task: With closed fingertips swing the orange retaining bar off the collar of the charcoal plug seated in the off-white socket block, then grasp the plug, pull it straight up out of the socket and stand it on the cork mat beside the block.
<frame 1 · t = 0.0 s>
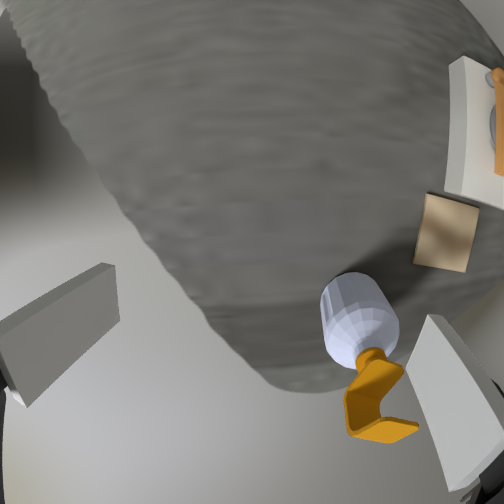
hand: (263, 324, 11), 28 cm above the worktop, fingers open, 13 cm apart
plug: (490, 135, 28), resting in socket block
socket block: (484, 138, 29), on the worktop
soap bottle: (350, 299, 39), on the worktop
clip: (502, 119, 21), point 7 cm above the worktop, hinge at 0.0°
cork mat: (447, 234, 34), on the worktop
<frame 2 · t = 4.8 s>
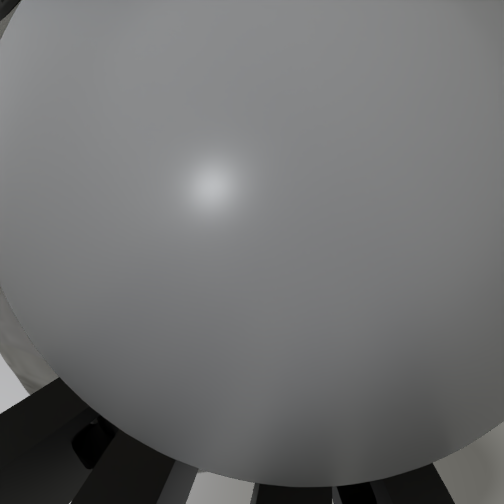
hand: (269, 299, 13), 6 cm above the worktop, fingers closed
plug: (303, 169, 17), resting in socket block
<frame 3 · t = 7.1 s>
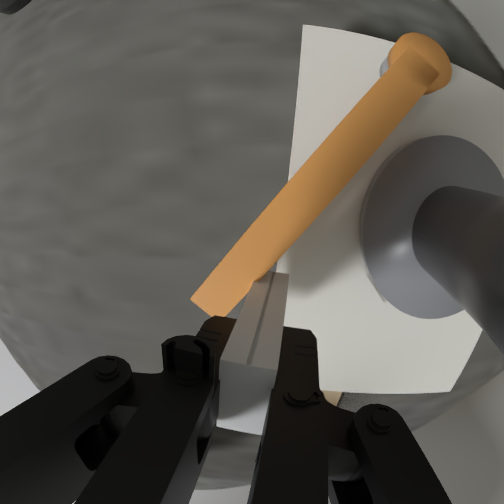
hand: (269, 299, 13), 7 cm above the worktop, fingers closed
plug: (406, 210, 17), resting in socket block
socket block: (390, 223, 17), on the worktop
clip: (328, 168, 10), point 7 cm above the worktop, hinge at -33.4°, touching gripper
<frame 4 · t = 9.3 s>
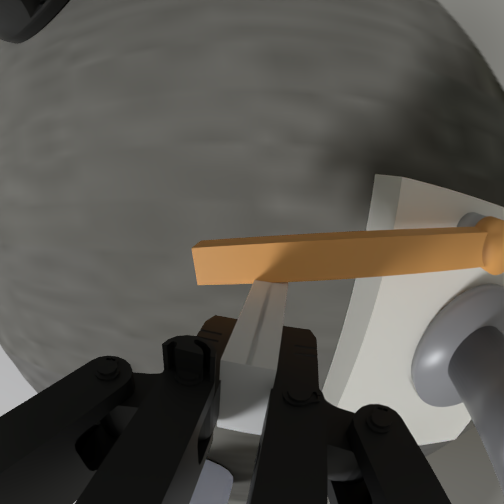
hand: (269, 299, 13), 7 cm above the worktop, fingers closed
plug: (440, 311, 18), resting in socket block
socket block: (426, 321, 19), on the worktop
soap bottle: (201, 469, 29), on the worktop
clip: (381, 252, 11), point 7 cm above the worktop, hinge at -78.2°, touching gripper
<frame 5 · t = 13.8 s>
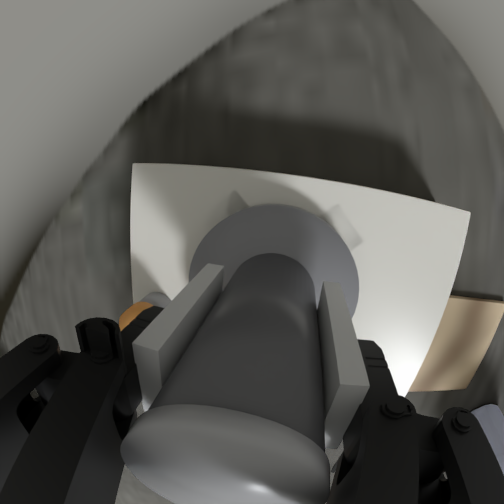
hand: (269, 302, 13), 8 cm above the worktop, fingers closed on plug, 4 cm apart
plug: (280, 258, 20), resting in socket block, touching gripper
socket block: (291, 273, 21), on the worktop
soap bottle: (470, 425, 23), on the worktop
clip: (160, 401, 17), point 7 cm above the worktop, hinge at -84.0°
cork mat: (449, 346, 20), on the worktop
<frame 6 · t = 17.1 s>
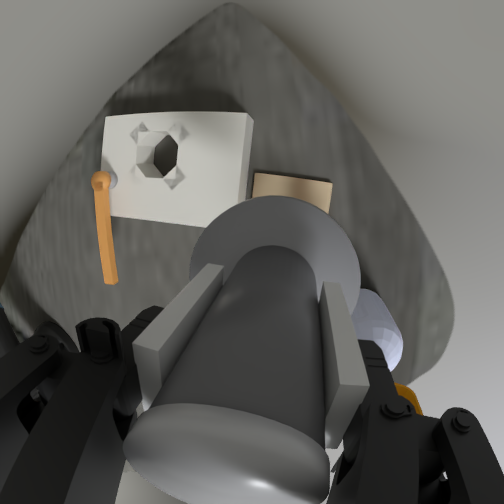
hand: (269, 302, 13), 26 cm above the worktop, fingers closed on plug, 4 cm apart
plug: (281, 249, 20), point 18 cm above the worktop, touching gripper
socket block: (177, 166, 38), on the worktop
soap bottle: (355, 314, 40), on the worktop
clip: (104, 228, 34), point 7 cm above the worktop, hinge at -84.0°
cork mat: (289, 215, 37), on the worktop
when the fingers open (10 cm above the worktop, at t = 20.2 s): plug stays where it is, resting on cork mat.
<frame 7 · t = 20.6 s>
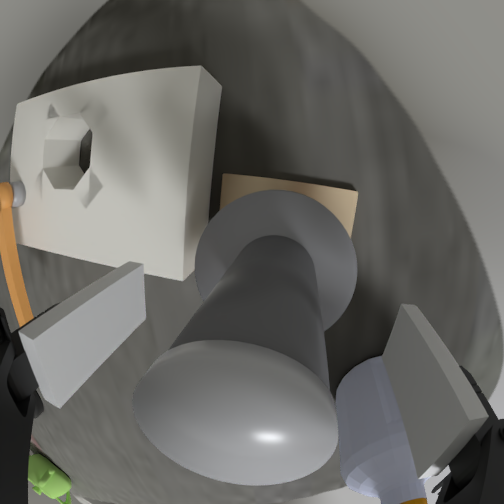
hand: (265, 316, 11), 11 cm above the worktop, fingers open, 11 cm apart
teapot: (54, 467, 56), on the worktop
plug: (281, 246, 21), point 1 cm above the worktop, touching cork mat
socket block: (108, 167, 22), on the worktop
soap bottle: (378, 385, 24), on the worktop
clip: (11, 265, 19), point 7 cm above the worktop, hinge at -84.0°
cork mat: (282, 245, 22), on the worktop
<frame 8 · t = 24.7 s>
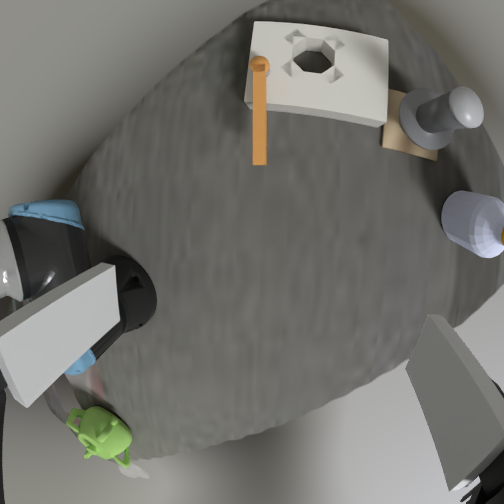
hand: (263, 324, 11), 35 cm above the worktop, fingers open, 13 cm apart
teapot: (110, 423, 70), on the worktop
plug: (413, 123, 36), point 1 cm above the worktop, touching cork mat
socket block: (318, 75, 37), on the worktop
soap bottle: (459, 216, 39), on the worktop
clip: (259, 108, 33), point 7 cm above the worktop, hinge at -84.0°
cork mat: (412, 124, 36), on the worktop
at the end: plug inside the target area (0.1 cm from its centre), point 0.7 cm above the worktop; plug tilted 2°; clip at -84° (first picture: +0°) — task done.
